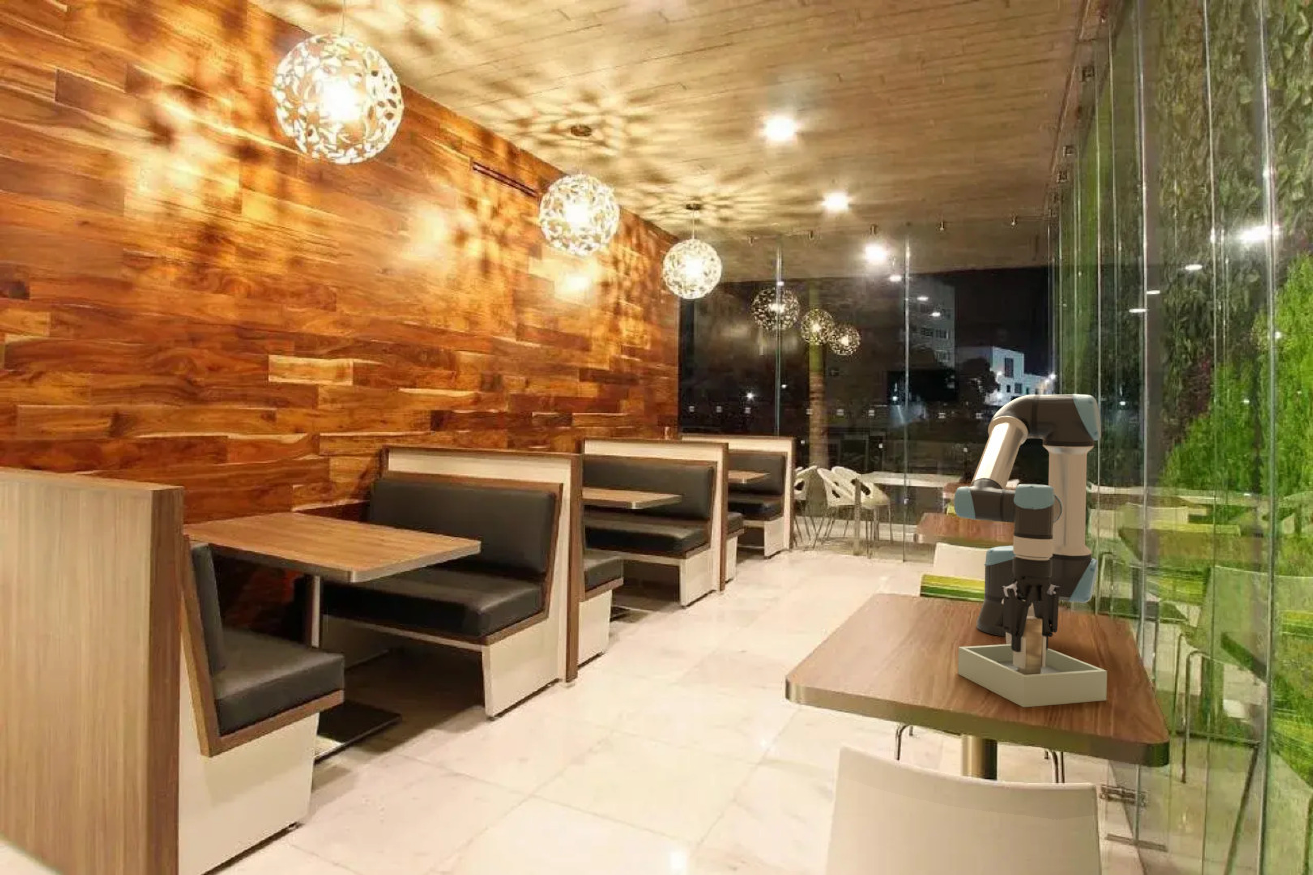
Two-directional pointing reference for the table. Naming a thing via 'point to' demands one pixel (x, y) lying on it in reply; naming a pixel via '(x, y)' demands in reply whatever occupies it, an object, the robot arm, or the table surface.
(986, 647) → the grey-green open tray
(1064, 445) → the robot arm
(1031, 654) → the peg
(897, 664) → the table surface
